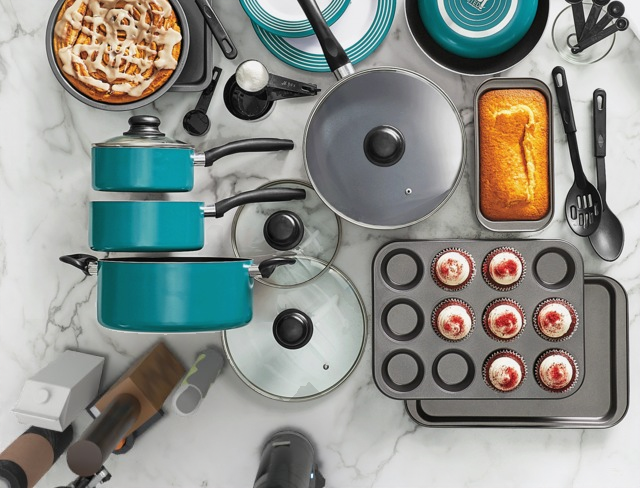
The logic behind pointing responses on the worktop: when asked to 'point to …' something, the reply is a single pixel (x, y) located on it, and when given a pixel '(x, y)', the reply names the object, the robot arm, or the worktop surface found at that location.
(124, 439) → the button
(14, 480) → the travel mug
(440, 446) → the worktop surface
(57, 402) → the milk carton
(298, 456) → the robot arm
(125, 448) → the scale
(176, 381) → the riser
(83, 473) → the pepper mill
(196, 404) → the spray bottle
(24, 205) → the worktop surface
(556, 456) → the worktop surface
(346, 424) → the worktop surface
